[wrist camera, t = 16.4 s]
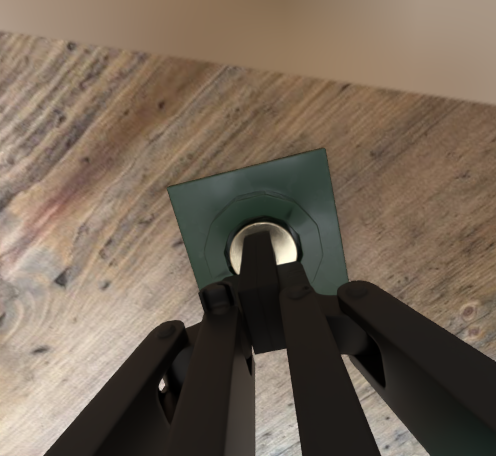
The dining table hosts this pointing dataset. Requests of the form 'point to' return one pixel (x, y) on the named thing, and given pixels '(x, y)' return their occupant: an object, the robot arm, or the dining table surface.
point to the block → (264, 204)
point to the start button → (278, 233)
